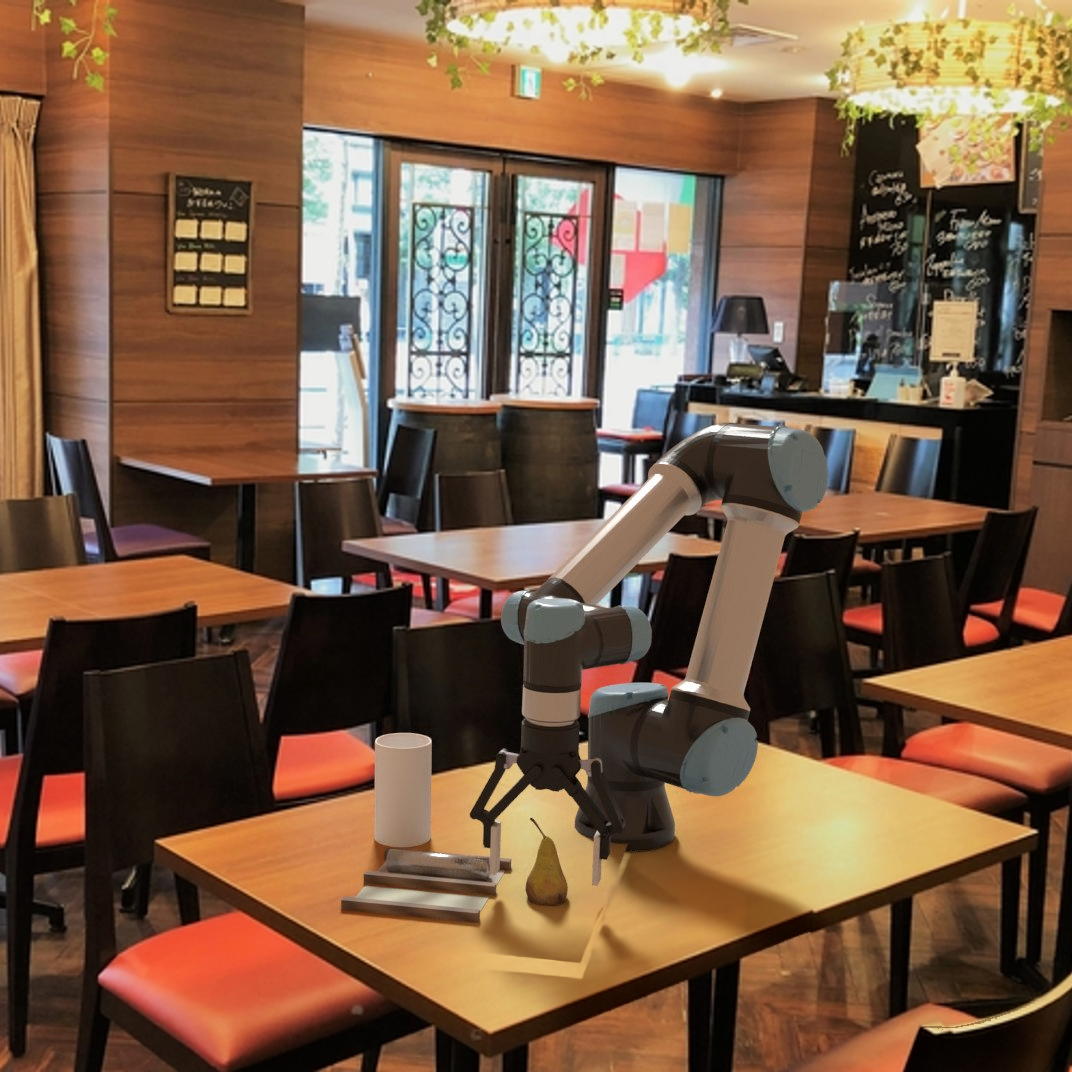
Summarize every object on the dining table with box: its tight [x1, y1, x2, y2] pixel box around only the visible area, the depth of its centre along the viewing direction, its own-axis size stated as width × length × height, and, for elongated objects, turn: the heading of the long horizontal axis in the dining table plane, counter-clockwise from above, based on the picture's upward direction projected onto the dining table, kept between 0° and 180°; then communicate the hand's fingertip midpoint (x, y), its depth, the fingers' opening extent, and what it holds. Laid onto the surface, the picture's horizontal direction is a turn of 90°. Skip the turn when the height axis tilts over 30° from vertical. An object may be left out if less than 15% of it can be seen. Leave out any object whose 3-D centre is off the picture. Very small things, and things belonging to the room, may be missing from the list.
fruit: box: [525, 817, 569, 907], centre depth 197 cm, size 6×6×12 cm
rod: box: [385, 848, 490, 880], centre depth 205 cm, size 14×3×3 cm, turn 79°
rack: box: [340, 847, 512, 924], centre depth 201 cm, size 18×20×3 cm
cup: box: [373, 732, 433, 848], centre depth 219 cm, size 8×8×16 cm
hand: (545, 877), depth 197 cm, fingers open, 13 cm apart
